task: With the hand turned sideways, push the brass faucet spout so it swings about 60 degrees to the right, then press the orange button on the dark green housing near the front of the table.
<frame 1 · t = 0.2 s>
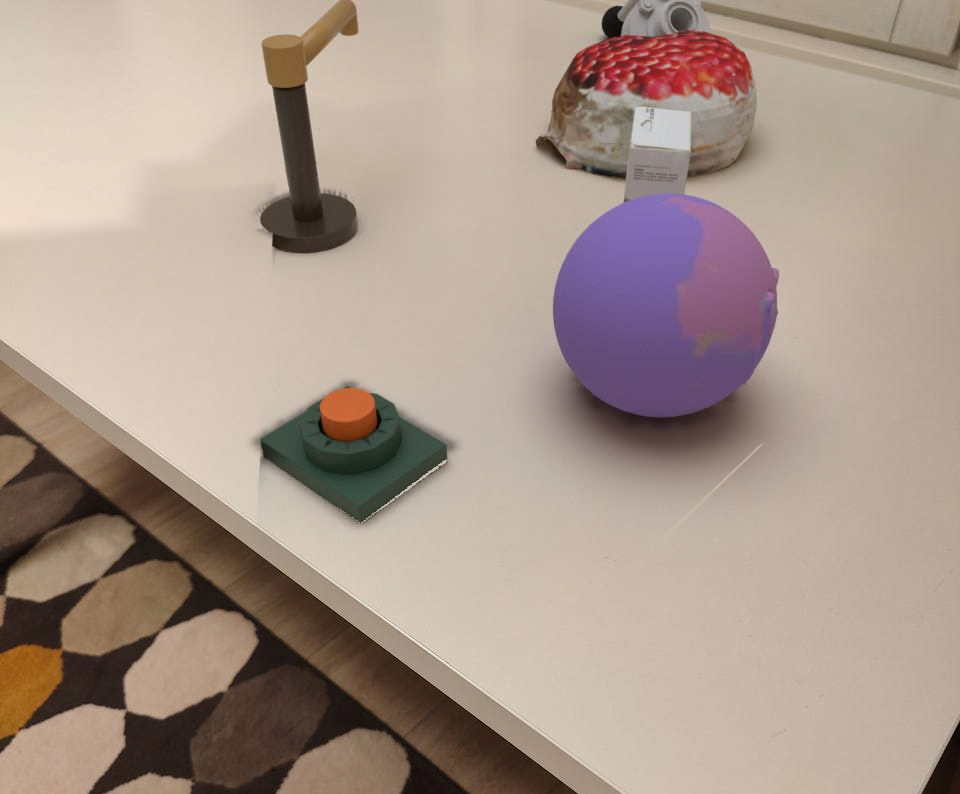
ink box: (646, 257, 85), on the table
spout: (317, 38, 85), point 15 cm above the table, hinge at 70.0°
valve: (639, 63, 121), on the table
button: (348, 414, 62), point 4 cm above the table, slide at 0.2 cm
cake: (637, 136, 105), on the table
button box: (355, 460, 65), on the table
faucet base: (310, 229, 90), on the table
decorative ball: (651, 397, 70), on the table
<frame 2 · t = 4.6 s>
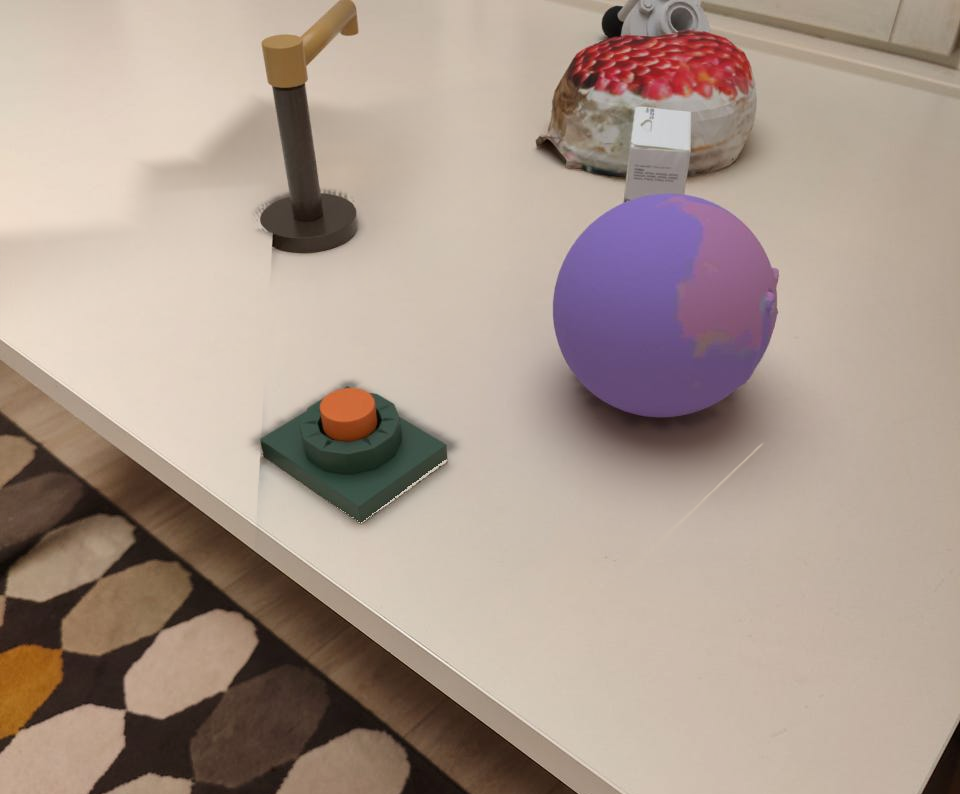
nothing on the table moved.
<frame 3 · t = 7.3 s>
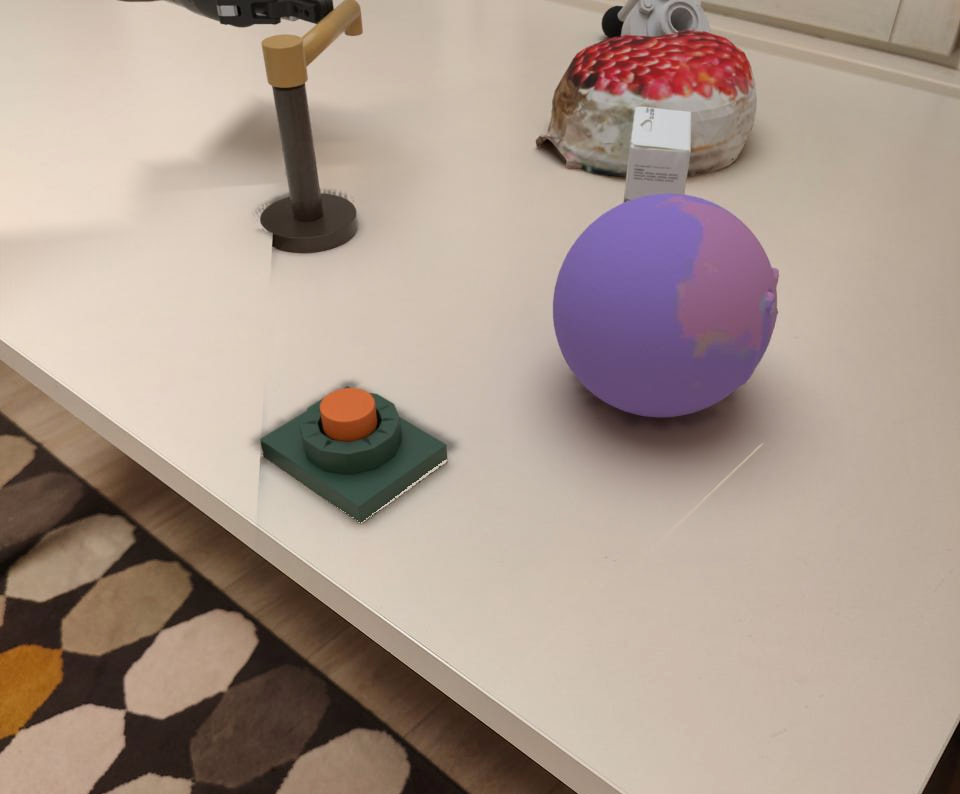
hand: (328, 11, 89), 15 cm above the table, tool horizontal, fingers closed
spout: (319, 38, 85), point 15 cm above the table, hinge at 68.4°, touching gripper
everything else where it was.
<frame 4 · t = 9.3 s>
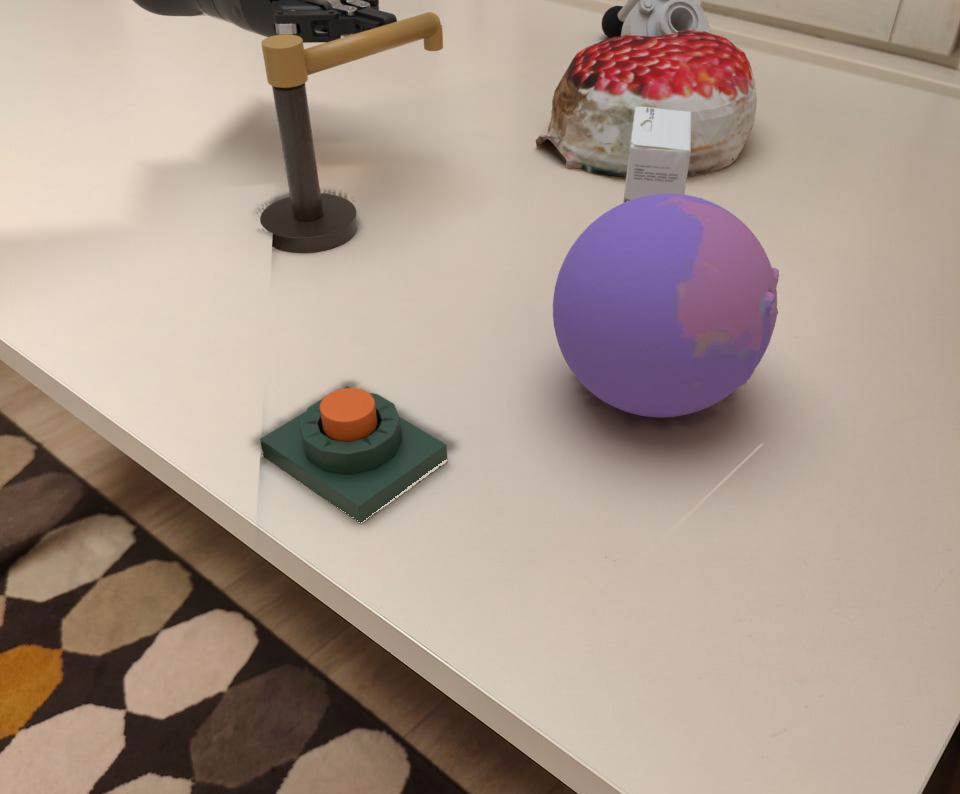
hand: (392, 29, 86), 15 cm above the table, tool horizontal, fingers closed
spout: (359, 45, 83), point 15 cm above the table, hinge at 35.3°, touching gripper
everything else where it was.
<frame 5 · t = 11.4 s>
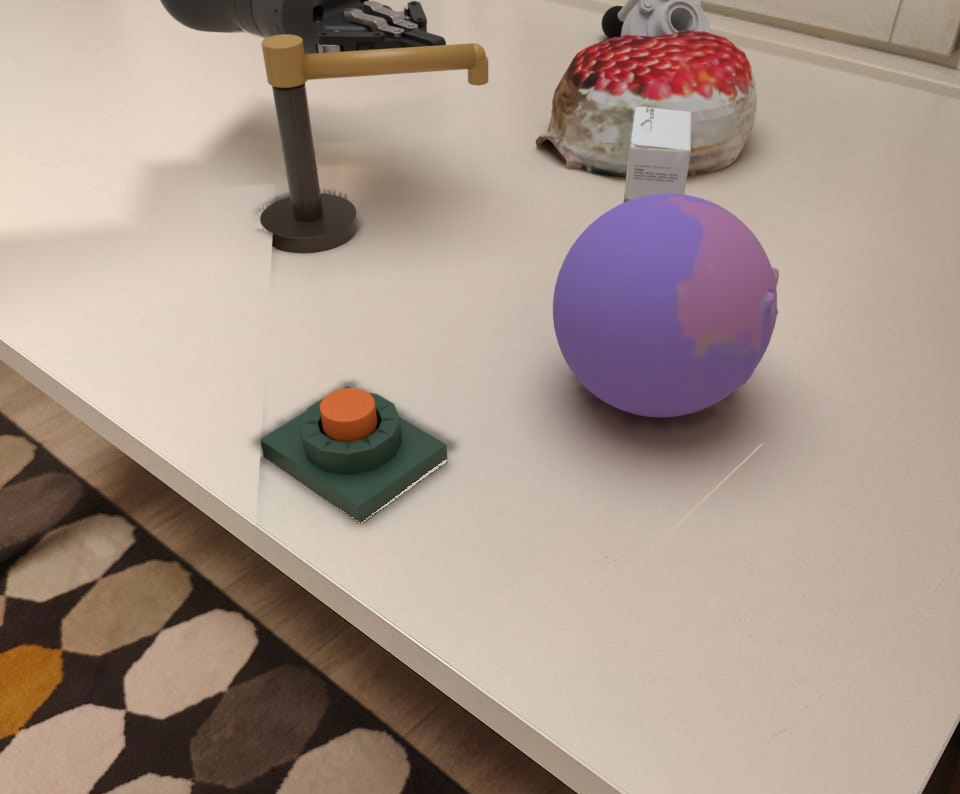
hand: (440, 53, 82), 15 cm above the table, tool horizontal, fingers closed
spout: (378, 62, 80), point 15 cm above the table, hinge at 0.2°, touching gripper
everything else where it was.
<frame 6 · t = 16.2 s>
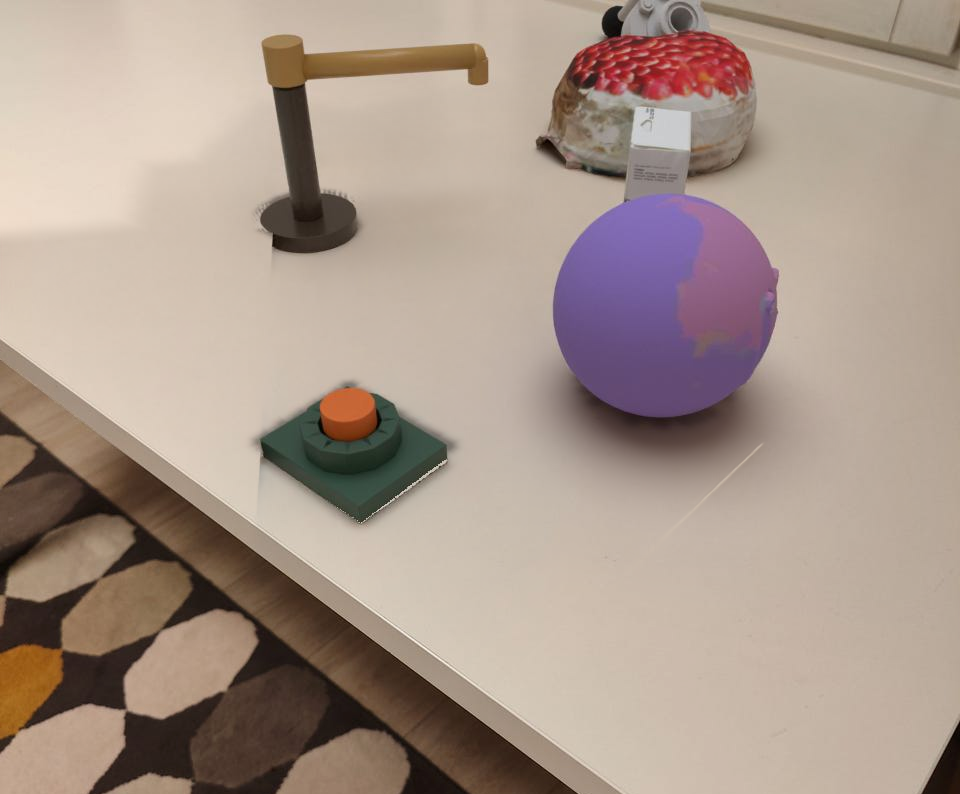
spout: (378, 62, 80), point 15 cm above the table, hinge at 0.2°
everything else where it was.
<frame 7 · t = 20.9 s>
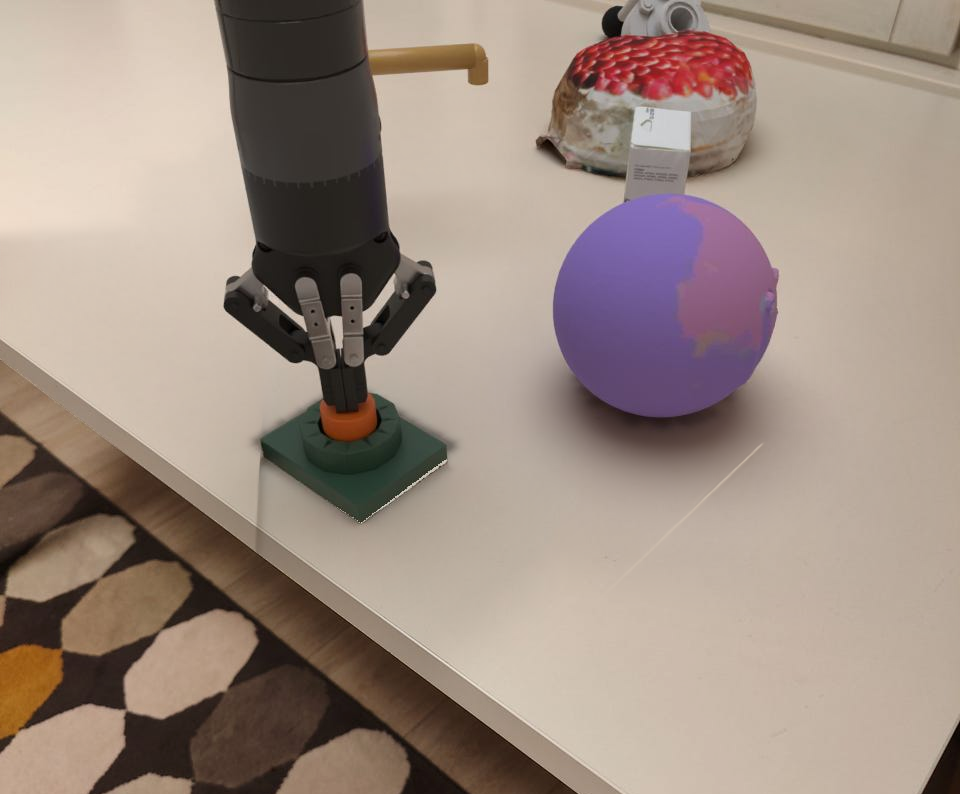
hand: (347, 404, 62), 5 cm above the table, tool pointing down, fingers closed
button: (348, 414, 62), point 4 cm above the table, slide at 0.2 cm, touching gripper
everything else where it was.
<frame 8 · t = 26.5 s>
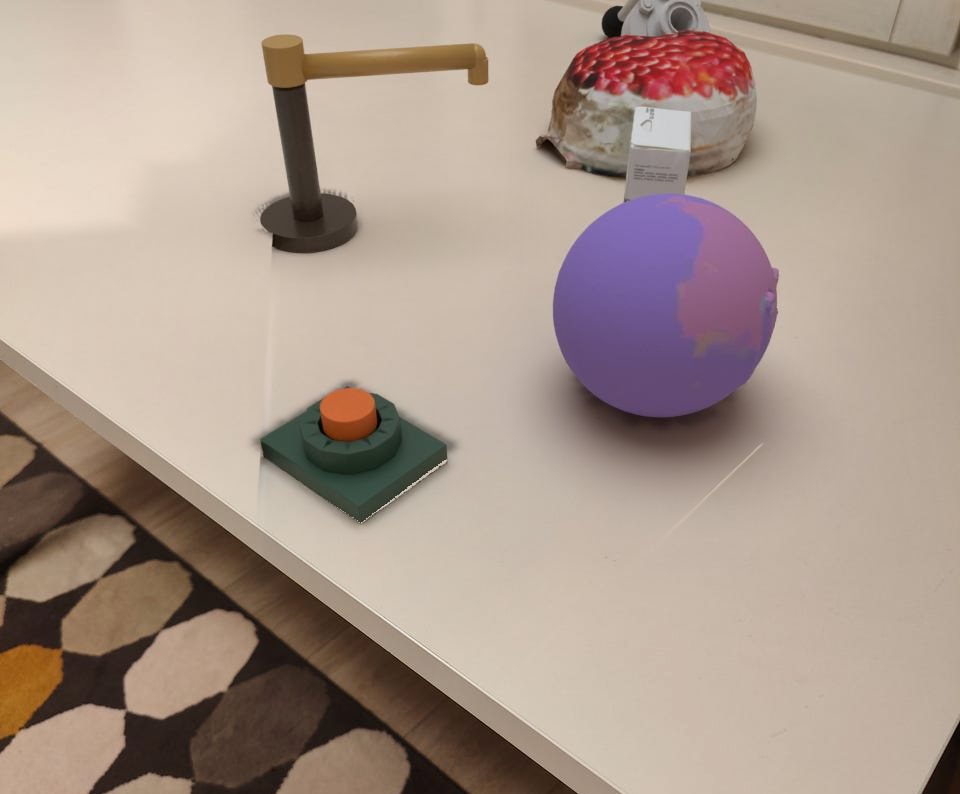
button: (348, 414, 62), point 4 cm above the table, slide at 0.2 cm
everything else where it was.
at the end: spout at +0° (first picture: +70°); button pushed in 1.0 cm at the most during the clip, back to 0.2 cm at the end; button slide at 0.2 cm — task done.
